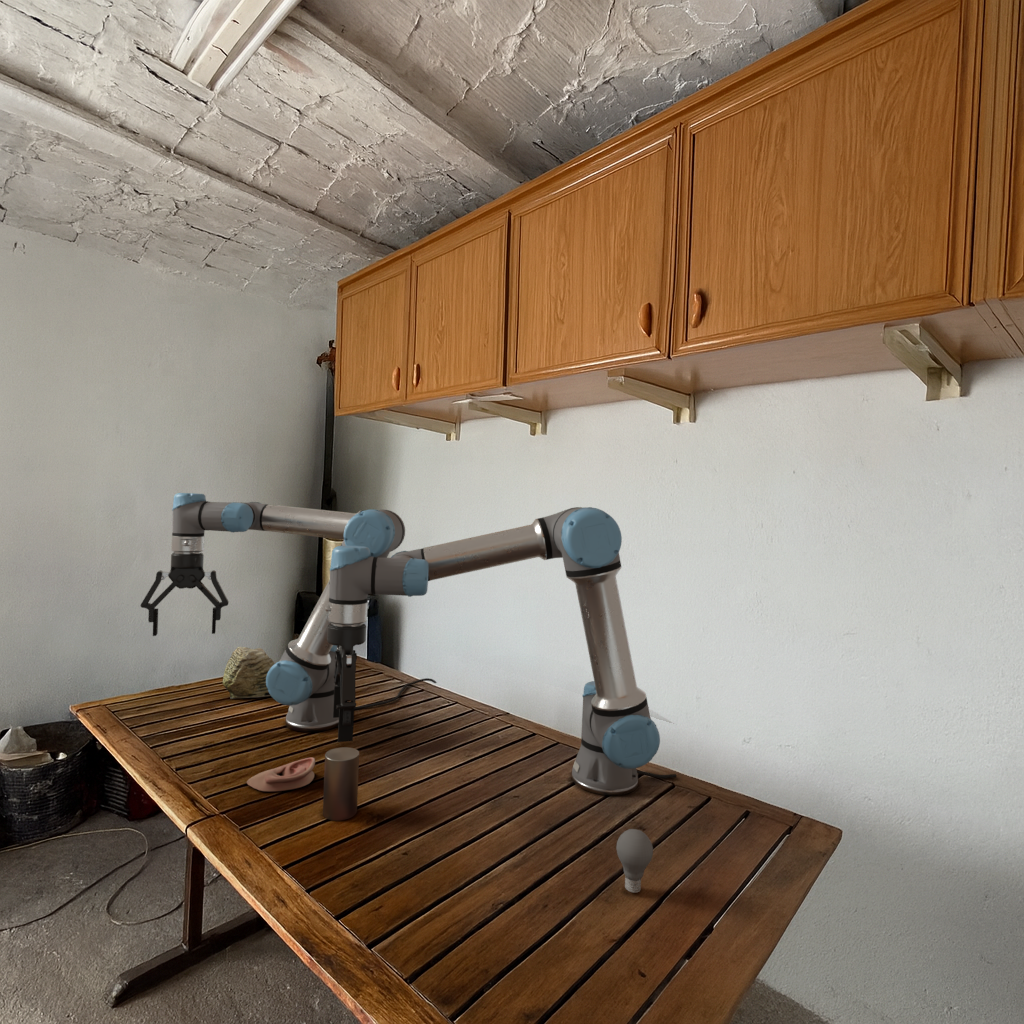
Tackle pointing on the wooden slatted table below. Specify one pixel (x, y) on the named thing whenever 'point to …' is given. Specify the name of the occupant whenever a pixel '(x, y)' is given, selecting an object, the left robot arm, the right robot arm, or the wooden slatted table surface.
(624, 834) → the light bulb
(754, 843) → the wooden slatted table surface
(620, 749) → the right robot arm
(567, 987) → the wooden slatted table surface
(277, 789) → the anatomical model
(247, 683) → the fossil
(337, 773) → the canister
